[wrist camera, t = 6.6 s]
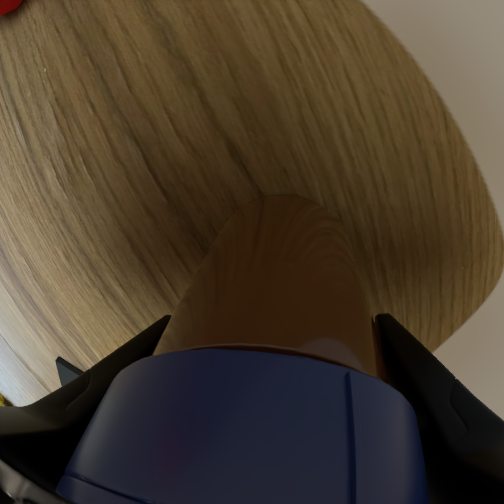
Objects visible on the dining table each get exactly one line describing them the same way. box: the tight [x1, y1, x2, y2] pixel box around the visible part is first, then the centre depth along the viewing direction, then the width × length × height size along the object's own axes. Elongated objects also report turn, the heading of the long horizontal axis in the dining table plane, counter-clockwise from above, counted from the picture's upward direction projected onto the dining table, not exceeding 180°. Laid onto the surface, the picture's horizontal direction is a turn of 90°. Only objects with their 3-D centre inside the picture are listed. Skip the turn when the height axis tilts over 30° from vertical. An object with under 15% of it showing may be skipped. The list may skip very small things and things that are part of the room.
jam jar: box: [150, 195, 388, 384], centre depth 8 cm, size 6×6×10 cm
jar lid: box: [56, 348, 429, 504], centre depth 4 cm, size 7×7×3 cm
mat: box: [55, 357, 84, 386], centre depth 23 cm, size 10×10×1 cm
